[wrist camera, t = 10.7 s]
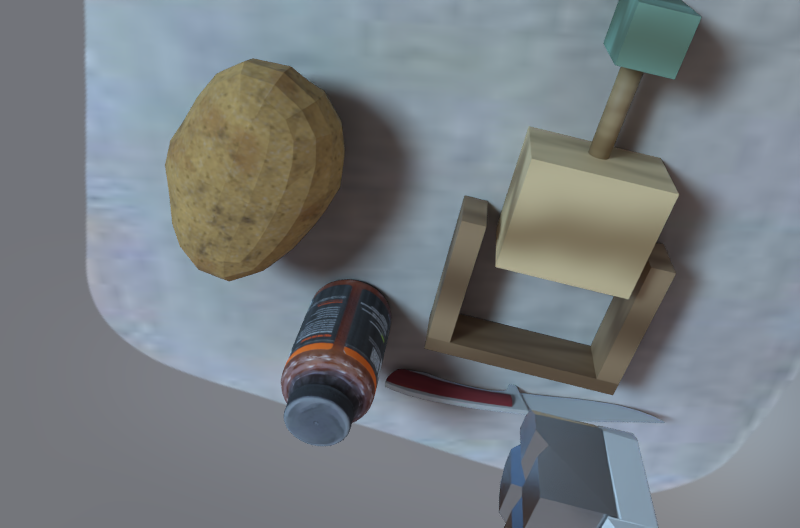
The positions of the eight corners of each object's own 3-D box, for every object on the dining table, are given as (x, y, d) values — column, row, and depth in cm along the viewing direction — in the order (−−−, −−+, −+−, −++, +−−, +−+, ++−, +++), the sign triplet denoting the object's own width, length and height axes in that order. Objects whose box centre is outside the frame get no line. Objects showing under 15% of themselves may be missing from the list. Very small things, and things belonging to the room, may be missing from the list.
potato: (174, 201, 45) (116, 261, 38) (235, 7, 38) (177, 39, 31) (305, 263, 46) (271, 331, 40) (388, 86, 39) (364, 133, 32)
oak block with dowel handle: (577, -26, 35) (587, -9, 30) (726, 10, 35) (757, 31, 30) (496, 226, 43) (495, 267, 39) (616, 255, 43) (628, 299, 39)
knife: (388, 374, 51) (382, 401, 48) (389, 361, 50) (383, 388, 48) (657, 410, 49) (666, 440, 47) (662, 397, 49) (671, 427, 46)
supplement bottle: (296, 310, 49) (245, 420, 39) (344, 260, 46) (302, 366, 36) (360, 355, 50) (326, 473, 40) (410, 310, 47) (386, 424, 38)
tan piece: (464, 195, 42) (461, 220, 39) (663, 244, 42) (676, 273, 39) (429, 318, 47) (424, 348, 44) (605, 361, 47) (613, 395, 44)
